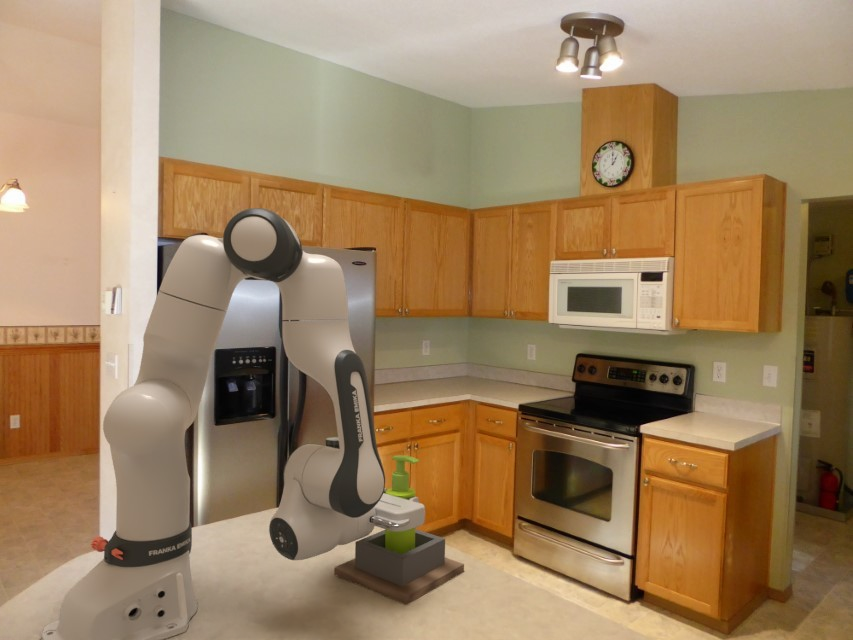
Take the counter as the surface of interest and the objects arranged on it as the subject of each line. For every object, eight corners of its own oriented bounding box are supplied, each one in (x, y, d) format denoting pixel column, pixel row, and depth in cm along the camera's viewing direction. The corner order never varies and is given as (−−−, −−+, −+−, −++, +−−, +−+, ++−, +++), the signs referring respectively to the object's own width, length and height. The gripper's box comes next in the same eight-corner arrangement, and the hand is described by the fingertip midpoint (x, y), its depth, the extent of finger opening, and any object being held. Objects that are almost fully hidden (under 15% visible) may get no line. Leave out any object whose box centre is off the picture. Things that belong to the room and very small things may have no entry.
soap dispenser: (407, 567, 114) (408, 461, 114) (379, 559, 118) (379, 456, 118) (425, 557, 119) (425, 455, 119) (397, 549, 123) (397, 451, 123)
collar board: (406, 605, 105) (407, 568, 105) (334, 574, 116) (335, 541, 116) (463, 571, 120) (464, 538, 120) (395, 547, 131) (395, 517, 131)
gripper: (396, 509, 102) (444, 491, 113) (314, 485, 114) (364, 471, 125) (395, 546, 102) (443, 525, 113) (313, 518, 114) (364, 501, 125)
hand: (401, 496), depth 119 cm, fingers closed on soap dispenser, 6 cm apart
